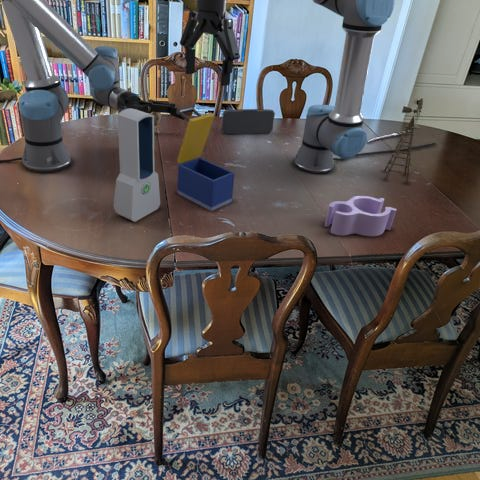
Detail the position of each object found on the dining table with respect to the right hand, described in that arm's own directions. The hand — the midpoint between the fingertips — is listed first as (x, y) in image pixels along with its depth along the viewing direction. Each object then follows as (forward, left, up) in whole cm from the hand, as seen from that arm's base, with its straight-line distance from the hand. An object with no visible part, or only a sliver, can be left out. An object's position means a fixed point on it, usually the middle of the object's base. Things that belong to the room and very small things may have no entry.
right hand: (207, 79), depth 131 cm
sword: (-108, -3, -37) cm, 115 cm away
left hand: (+3, -16, -16) cm, 22 cm away
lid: (+1, -3, -19) cm, 19 cm away
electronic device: (+22, -1, -37) cm, 43 cm away
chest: (0, +2, -37) cm, 37 cm away
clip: (-30, +40, -37) cm, 62 cm away
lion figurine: (-12, -57, -37) cm, 69 cm away
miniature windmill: (-73, +25, -37) cm, 85 cm away
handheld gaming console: (-52, -38, -37) cm, 74 cm away
